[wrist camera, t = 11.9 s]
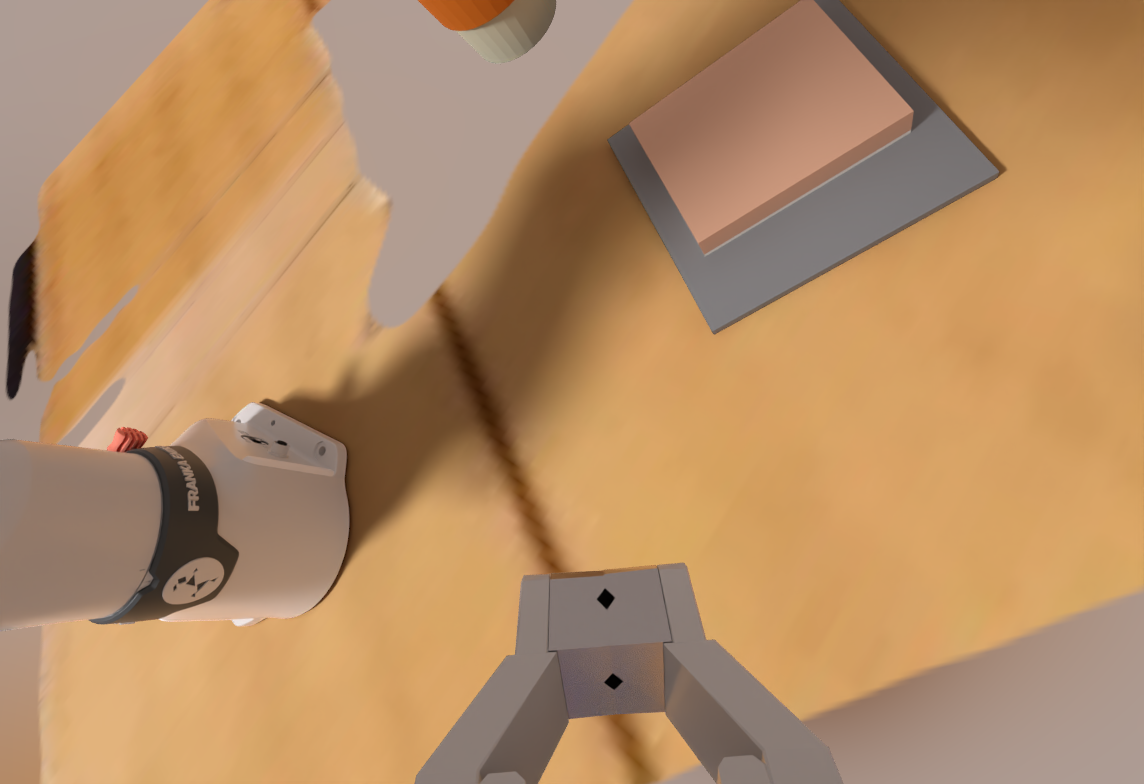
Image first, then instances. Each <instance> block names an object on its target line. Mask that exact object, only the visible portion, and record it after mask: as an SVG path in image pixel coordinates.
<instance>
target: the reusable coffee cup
mask: <svg viewBox="0 0 1144 784" xmlns="http://www.w3.org/2000/svg"><path fill="white" fill-rule="evenodd" d="M418 1H419V2H420V3H421V4H422V5H423V6H424V7H425V8H426V9H427V10H428V11H429V12H430V13H431V14H432V15H434V17H435V18H436V19H438V21H439V22H440V23H442V25H443V26H445V27H447V28H448V29H450V30H455V31H457V33H458V34H459V35H460V36H462V38H464V40H465V41H467V42H468V44H469V45H471V47H472V48H474V49H475V50H476V51H477V52H478V53H479V54H480V55H481V56H482V57H483V58H484V59H485V60H486V61H488V62H491V63H505V62H509V61H512V60H514V59H517V58H519V57H520V56H522V55H523V54H525V53H527V52H528V51H529V50H530V49H531V48H532V47H534V46H535V45H536V44H537V42H538V41H539V40H540V39H541V38H542V37H543V35H544V34H545V33H546V31H547V30H548V28H549V26H550V24H551V22H552V19H553V17H554V14H555V9H556V0H418Z"/></svg>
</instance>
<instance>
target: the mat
mask: <svg viewBox="0 0 1144 784" xmlns="http://www.w3.org/2000/svg"><path fill="white" fill-rule="evenodd" d="M814 1H815V2H816V3H817V4H818V6H819V7H820V8H821V9H822V10H823V11H824V12H825V13H826V14H827V15H828V17H829V18H830V19H831V20H832V21H833V22H834V23H835V24H836V25H837V27H838V28H839V29H840V30H841V31H842V32H843V33H844V34H845V35H846V36H847V38H848V39H849V40H850V41H851V42H852V43H853V44H854V45H855V46H856V48H857V49H858V50H859V51H860V52H861V53H862V54H863V55H864V56H865V57H866V59H867V60H868V61H869V62H870V63H871V64H872V65H873V66H874V67H875V69H876V70H877V71H878V72H879V73H880V74H881V75H882V76H883V77H884V79H885V80H886V81H887V82H888V83H889V84H890V85H891V86H892V87H893V88H894V90H895V91H896V92H897V93H898V94H899V95H900V96H901V97H902V98H903V100H904V101H905V102H906V103H907V104H908V105H909V106H910V107H911V108H912V109H913V111H914V113H913V120H912V127H911V133H909V134H908V135H906V136H904V137H903V138H901V139H899V140H898V141H896V142H894V143H893V144H891V145H890V146H888V147H886V148H885V149H883V150H881V151H880V152H878V153H876V154H875V155H873V156H871V157H870V158H868V159H866V160H865V161H863V162H861V163H860V164H858V165H856V166H855V167H853V168H851V169H850V170H848V171H846V172H845V173H843V174H841V175H840V176H838V177H836V178H835V179H833V180H831V181H830V182H828V183H827V184H825V185H823V186H822V187H820V188H818V189H817V190H815V191H813V192H812V193H810V194H808V195H807V196H805V197H803V198H802V199H800V200H798V201H797V202H795V203H793V204H792V205H790V206H788V207H787V208H785V209H783V210H782V211H780V212H778V213H777V214H775V215H773V216H772V217H770V218H768V219H767V220H765V221H764V222H762V223H760V224H759V225H757V226H755V227H754V228H752V229H750V230H749V231H747V232H745V233H744V234H742V235H740V236H739V237H737V238H735V239H734V240H732V241H730V242H729V243H727V244H725V245H724V246H722V247H720V248H719V249H717V250H715V251H714V252H712V253H710V254H709V255H707V256H705V255H704V254H703V252H702V250H701V248H700V247H699V245H698V243H697V241H696V240H695V238H694V236H693V235H692V233H691V231H690V229H689V228H688V226H687V224H686V222H685V221H684V219H683V217H682V216H681V214H680V212H679V210H678V209H677V207H676V205H675V204H674V202H673V200H672V198H671V197H670V195H669V193H668V191H667V190H666V188H665V186H664V185H663V183H662V181H661V179H660V178H659V176H658V174H657V172H656V171H655V169H654V167H653V166H652V164H651V162H650V160H649V159H648V157H647V155H646V153H645V152H644V150H643V148H642V147H641V145H640V143H639V141H638V140H637V138H636V136H635V134H634V132H633V130H632V129H631V127H630V125H627V126H626V127H624V128H623V129H622V130H620V131H619V132H617V133H616V134H615V135H613V136H612V137H610V138H609V139H608V142H609V144H610V146H611V148H612V150H613V151H614V153H615V155H616V157H617V159H618V161H619V162H620V164H621V166H622V168H623V170H624V172H625V173H626V175H627V177H628V179H629V181H630V183H631V184H632V186H633V188H634V190H635V192H636V193H637V195H638V197H639V199H640V201H641V203H642V204H643V206H644V208H645V210H646V212H647V214H648V215H649V217H650V219H651V221H652V223H653V225H654V226H655V228H656V230H657V232H658V234H659V236H660V237H661V239H662V241H663V243H664V245H665V247H666V248H667V250H668V252H669V254H670V256H671V258H672V259H673V261H674V263H675V265H676V267H677V268H678V270H679V272H680V274H681V276H682V278H683V279H684V281H685V283H686V285H687V287H688V289H689V290H690V292H691V294H692V296H693V298H694V300H695V301H696V303H697V305H698V307H699V309H700V311H701V312H702V314H703V316H704V318H705V320H706V322H707V323H708V325H709V327H710V329H711V331H712V332H713V334H716V333H718V332H720V331H721V330H723V329H725V328H727V327H729V326H730V325H732V324H734V323H736V322H738V321H739V320H741V319H743V318H745V317H747V316H748V315H750V314H752V313H754V312H756V311H757V310H759V309H761V308H763V307H765V306H766V305H768V304H770V303H772V302H774V301H776V300H777V299H779V298H781V297H783V296H785V295H786V294H788V293H790V292H792V291H794V290H795V289H797V288H799V287H801V286H803V285H804V284H806V283H808V282H810V281H812V280H813V279H815V278H817V277H819V276H821V275H822V274H824V273H826V272H828V271H830V270H831V269H833V268H835V267H837V266H839V265H841V264H842V263H844V262H846V261H848V260H850V259H851V258H853V257H855V256H857V255H859V254H860V253H862V252H864V251H866V250H868V249H869V248H871V247H873V246H875V245H877V244H878V243H880V242H882V241H884V240H886V239H887V238H889V237H891V236H893V235H895V234H897V233H898V232H900V231H902V230H904V229H906V228H907V227H909V226H911V225H913V224H915V223H916V222H918V221H920V220H922V219H924V218H925V217H927V216H929V215H931V214H933V213H934V212H936V211H938V210H940V209H942V208H943V207H945V206H947V205H949V204H951V203H952V202H954V201H956V200H958V199H960V198H962V197H963V196H965V195H967V194H969V193H971V192H972V191H974V190H976V189H978V188H980V187H981V186H983V185H985V184H987V183H989V182H990V181H992V180H994V179H996V178H997V177H998V174H999V171H998V170H997V169H996V167H995V166H994V165H993V164H992V163H991V162H990V161H989V160H988V159H987V158H986V157H985V156H984V155H983V154H982V152H981V151H980V150H979V149H978V148H977V147H976V146H975V145H974V144H973V143H972V142H971V141H970V140H969V139H968V138H967V136H966V135H965V134H964V133H963V132H962V131H961V130H960V129H959V128H958V127H957V126H956V125H955V124H954V123H953V121H952V120H951V119H950V118H949V117H948V116H947V115H946V114H945V113H944V112H943V111H942V110H941V109H940V108H939V107H938V105H937V104H936V103H935V102H934V101H933V100H932V99H931V98H930V97H929V96H928V95H927V94H926V93H925V92H924V91H923V89H922V88H921V87H920V86H919V85H918V84H917V83H916V82H915V81H914V80H913V79H912V78H911V77H910V76H909V74H908V73H907V72H906V71H905V70H904V69H903V68H902V67H901V66H900V65H899V64H898V63H897V62H896V61H895V60H894V58H893V57H892V56H891V55H890V54H889V53H888V52H887V51H886V50H885V49H884V48H883V47H882V46H881V45H880V43H879V42H878V41H877V40H876V39H875V38H874V37H873V36H872V35H871V34H870V33H869V32H868V31H867V30H866V29H865V27H864V26H863V25H862V24H861V23H860V22H859V21H858V20H857V19H856V18H855V17H854V16H853V15H852V14H851V13H850V11H849V10H848V9H847V8H846V7H845V6H844V5H843V4H842V3H841V2H840V1H839V0H814Z"/></svg>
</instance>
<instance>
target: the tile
mask: <svg viewBox="0 0 1144 784" xmlns="http://www.w3.org/2000/svg"><path fill="white" fill-rule="evenodd" d="M913 113H914V111H913V109H912V108H911V107H910V106H909V105H908V104H907V103H906V102H905V101H904V100H903V98H902V97H901V96H900V95H899V94H898V93H897V92H896V91H895V90H894V88H893V87H892V86H891V85H890V84H889V83H888V82H887V81H886V80H885V79H884V77H883V76H882V75H881V74H880V73H879V72H878V71H877V70H876V69H875V67H874V66H873V65H872V64H871V63H870V62H869V61H868V60H867V59H866V57H865V56H864V55H863V54H862V53H861V52H860V51H859V50H858V49H857V48H856V46H855V45H854V44H853V43H852V42H851V41H850V40H849V39H848V38H847V36H846V35H845V34H844V33H843V32H842V31H841V30H840V29H839V28H838V27H837V25H836V24H835V23H834V22H833V21H832V20H831V19H830V18H829V17H828V15H827V14H826V13H825V12H824V11H823V10H822V9H821V8H820V7H819V6H818V4H817V3H816V2H815V1H814V0H800V1H799V2H798V3H796V4H795V5H793V6H792V7H791V8H789V9H788V10H786V11H785V12H784V13H782V14H781V15H779V16H778V17H777V18H775V19H774V20H772V21H771V22H770V23H768V24H767V25H765V26H764V27H763V28H761V29H760V30H758V31H757V32H756V33H754V34H753V35H751V36H750V37H749V38H747V39H746V40H744V41H743V42H742V43H740V44H739V45H737V46H736V47H735V48H733V49H732V50H730V51H729V52H728V53H726V54H725V55H723V56H722V57H721V58H719V59H718V60H716V61H715V62H714V63H712V64H711V65H709V66H708V67H707V68H705V69H704V70H703V71H701V72H700V73H698V74H697V75H696V76H694V77H693V78H691V79H690V80H689V81H687V82H686V83H684V84H683V85H682V86H680V87H679V88H677V89H676V90H675V91H673V92H672V93H670V94H669V95H668V96H666V97H665V98H663V99H662V100H661V101H659V102H658V103H656V104H655V105H654V106H652V107H651V108H649V109H648V110H647V111H645V112H644V113H642V114H641V115H640V116H638V117H637V118H635V119H634V120H633V121H631V122H630V123H629V125H630V127H631V129H632V130H633V132H634V134H635V136H636V138H637V140H638V141H639V143H640V145H641V147H642V148H643V150H644V152H645V153H646V155H647V157H648V159H649V160H650V162H651V164H652V166H653V167H654V169H655V171H656V172H657V174H658V176H659V178H660V179H661V181H662V183H663V185H664V186H665V188H666V190H667V191H668V193H669V195H670V197H671V198H672V200H673V202H674V204H675V205H676V207H677V209H678V210H679V212H680V214H681V216H682V217H683V219H684V221H685V222H686V224H687V226H688V228H689V229H690V231H691V233H692V235H693V236H694V238H695V240H696V241H697V243H698V245H699V247H700V248H701V250H702V252H703V254H704V255H705V256H707V255H709V254H710V253H712V252H714V251H715V250H717V249H719V248H720V247H722V246H724V245H725V244H727V243H729V242H730V241H732V240H734V239H735V238H737V237H739V236H740V235H742V234H744V233H745V232H747V231H749V230H750V229H752V228H754V227H755V226H757V225H759V224H760V223H762V222H764V221H765V220H767V219H768V218H770V217H772V216H773V215H775V214H777V213H778V212H780V211H782V210H783V209H785V208H787V207H788V206H790V205H792V204H793V203H795V202H797V201H798V200H800V199H802V198H803V197H805V196H807V195H808V194H810V193H812V192H813V191H815V190H817V189H818V188H820V187H822V186H823V185H825V184H827V183H828V182H830V181H831V180H833V179H835V178H836V177H838V176H840V175H841V174H843V173H845V172H846V171H848V170H850V169H851V168H853V167H855V166H856V165H858V164H860V163H861V162H863V161H865V160H866V159H868V158H870V157H871V156H873V155H875V154H876V153H878V152H880V151H881V150H883V149H885V148H886V147H888V146H890V145H891V144H893V143H894V142H896V141H898V140H899V139H901V138H903V137H904V136H906V135H908V134H909V133H911V127H912V120H913Z"/></svg>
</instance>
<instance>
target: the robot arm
mask: <svg viewBox="0 0 1144 784" xmlns="http://www.w3.org/2000/svg"><path fill="white" fill-rule="evenodd" d="M147 439H148V437H147V435H146V434H144V433H143V432H141V431H140V432H139V431H138V430H136V429H131V428H128V427H127V428H125V427H122V428H121V429H120V428H118V429H117V431H116V433H115V435H114V439H113V442H112V443H111V444H110V445H109V446H108V447H107V450H100V449H91V448H82V447H73V446H65V445H56V444H48V443H39V442H30V441H22V440H14V439H7V440H0V631H4V630H11V629H18V628H25V627H32V626H40V625H48V624H55V623H63V622H72V621H80V620H89V621H91V622H93V623H96V624H114V623H115V624H118V623H120V624H133V623H135V622H137V621H146V620H155V619H160V620H162V621H208V620H232V621H233V623H234V624H235V625H236V626H251V625H254V624H256V623H258V622H260V621H262V620H263V619H265V618H282V619H286V618H293V617H296V616H299V615H301V614H303V613H305V612H307V611H308V610H310V609H311V608H312V607H314V606H315V605H316V604H317V603H318V602H319V601H320V600H321V599H322V598H323V596H324V595H325V594H326V593H327V591H328V590H329V588H330V587H331V585H332V583H333V582H334V580H335V578H336V576H337V574H338V572H339V569H340V567H341V564H342V561H343V558H344V555H345V551H346V547H347V542H348V535H349V506H348V500H347V494H346V489H345V480H344V479H345V471H346V461H347V452H346V448H345V446H344V445H343V444H342V443H341V442H339V441H337V440H335V439H333V438H331V437H329V436H327V435H325V434H323V433H321V432H319V431H317V430H315V429H313V428H311V427H309V426H307V425H305V424H303V423H301V422H299V421H297V420H295V419H293V418H291V417H289V416H287V415H285V414H283V413H281V412H279V411H277V410H275V409H273V408H271V407H269V406H267V405H265V404H262V403H255V402H252V403H250V404H248V405H247V406H245V407H244V408H243V409H242V410H241V411H240V412H239V413H238V414H237V415H236V416H235V417H234V418H233V419H232V420H231V421H227V420H220V419H212V418H206V419H202V420H199V421H197V422H195V423H194V424H192V425H191V426H190V427H189V428H187V429H186V430H185V431H184V432H183V433H182V434H181V435H180V436H179V437H178V438H177V439H176V440H175V441H174V442H173V443H172V444H171V445H170V446H155V447H149V448H141V447H142V446H143V445H144V444H145V442H146V441H147ZM616 711H617V713H616ZM651 712H666V716H667V717H668V718H669V720H670V721H671V722H672V724H673V725H674V727H675V728H676V729H677V731H678V732H679V733H680V735H681V736H682V737H683V739H684V740H685V742H686V743H687V744H688V746H689V747H690V748H691V750H692V751H693V752H694V754H695V755H696V756H697V758H698V759H699V761H700V762H701V763H702V765H703V766H704V767H705V769H706V770H707V771H708V773H709V774H710V776H711V777H712V778H713V780H714V781H715V782H716V784H843V782H842V779H841V777H840V774H839V772H838V769H837V767H836V764H835V762H834V759H833V757H832V754H831V752H830V749H829V747H827V746H826V745H825V744H824V743H823V742H822V741H821V740H820V739H819V738H818V737H817V736H816V735H815V734H814V733H813V732H812V731H811V730H810V729H808V728H807V727H806V726H805V725H804V724H803V723H802V722H801V721H800V720H799V719H798V718H797V717H796V716H795V715H794V714H793V713H792V712H791V711H790V710H789V709H787V708H786V707H785V706H784V705H783V704H782V703H781V702H780V701H779V700H778V699H777V698H776V697H775V696H774V695H773V694H772V693H771V692H770V691H768V690H767V689H766V688H765V687H764V686H763V685H762V684H761V683H760V682H759V681H758V680H757V679H756V678H755V677H754V676H753V675H752V674H751V673H749V672H748V671H747V670H746V669H745V668H744V667H743V666H742V665H741V664H740V663H739V662H738V661H737V660H736V659H735V658H734V657H733V656H732V655H730V654H729V653H728V652H727V651H726V650H725V649H724V648H723V647H722V646H721V645H720V644H719V643H718V642H717V641H716V640H706V637H705V633H704V630H703V626H702V622H701V618H700V614H699V611H698V607H697V603H696V599H695V595H694V592H693V588H692V584H691V580H690V576H689V573H688V569H687V566H686V565H685V564H684V563H675V564H664V565H657V566H656V565H650V566H639V567H629V568H618V569H607V570H603V571H586V572H568V573H551V574H541V575H524V576H523V579H522V582H521V590H520V602H519V614H518V626H517V638H516V650H515V655H508V656H506V657H505V659H504V660H503V661H502V663H501V664H500V665H499V667H498V668H497V669H496V671H495V672H494V673H493V675H492V676H491V677H490V679H489V680H488V681H487V683H486V684H485V685H484V687H483V688H482V689H481V691H480V692H479V693H478V694H477V696H476V697H475V698H474V700H473V701H472V702H471V704H470V705H469V706H468V708H467V709H466V710H465V712H464V713H463V714H462V716H461V717H460V718H459V720H458V721H457V722H456V724H455V725H454V726H453V728H452V729H451V730H450V732H449V733H448V734H447V736H446V737H445V738H444V740H443V741H442V742H441V744H440V745H439V746H438V747H437V749H436V750H435V751H434V753H433V754H432V755H431V757H430V758H429V759H428V761H427V762H426V763H425V765H424V766H423V767H422V769H421V770H420V771H419V773H418V774H417V775H416V780H415V784H538V782H539V780H540V778H541V776H542V774H543V772H544V770H545V768H546V766H547V764H548V762H549V761H550V759H551V757H552V755H553V753H554V751H555V749H556V747H557V745H558V743H559V741H560V739H561V737H562V735H563V733H564V731H565V729H566V727H567V725H568V723H569V721H568V719H573V718H583V717H592V716H602V715H612V714H629V713H651Z"/></svg>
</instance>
